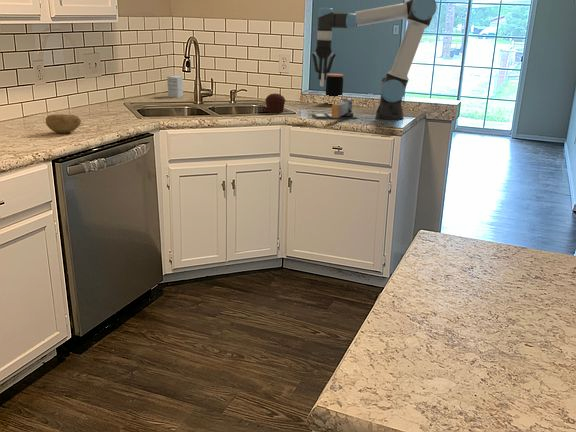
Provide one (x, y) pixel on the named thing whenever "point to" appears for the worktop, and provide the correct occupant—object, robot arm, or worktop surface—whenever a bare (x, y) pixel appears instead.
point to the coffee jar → (334, 84)
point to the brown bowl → (63, 123)
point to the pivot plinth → (348, 116)
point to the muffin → (275, 103)
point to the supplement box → (175, 86)
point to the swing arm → (342, 108)
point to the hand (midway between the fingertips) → (321, 86)
